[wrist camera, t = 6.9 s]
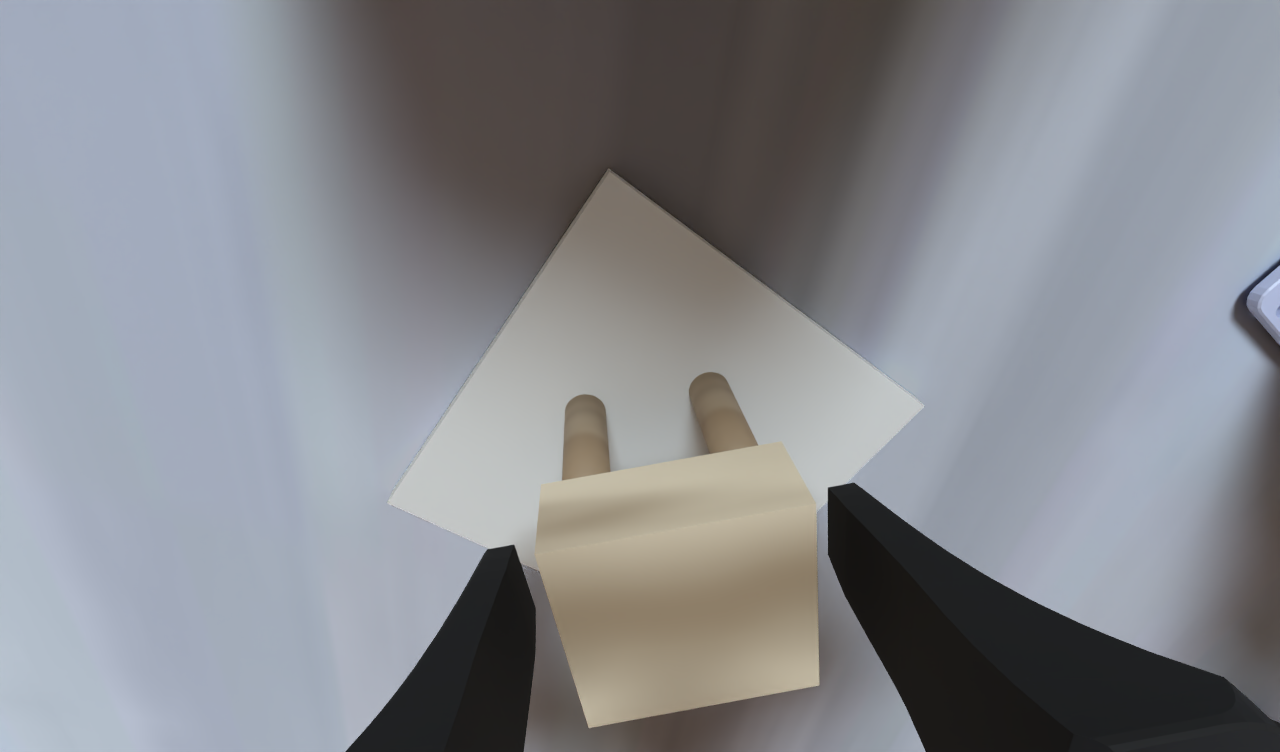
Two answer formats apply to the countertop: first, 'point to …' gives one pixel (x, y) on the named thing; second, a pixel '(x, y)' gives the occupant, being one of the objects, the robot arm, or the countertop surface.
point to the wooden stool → (680, 567)
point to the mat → (641, 374)
